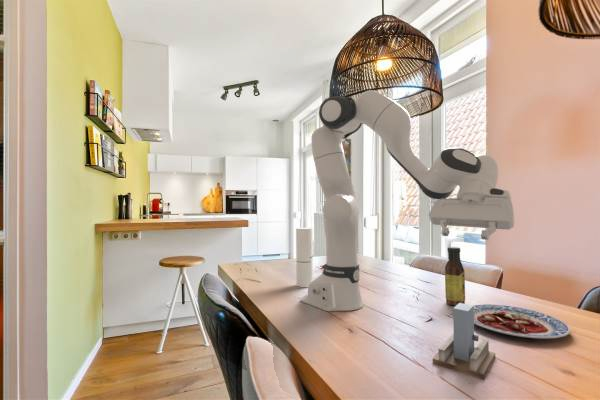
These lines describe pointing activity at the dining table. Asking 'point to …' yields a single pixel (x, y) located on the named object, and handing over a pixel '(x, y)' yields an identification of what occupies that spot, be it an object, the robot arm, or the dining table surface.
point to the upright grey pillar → (464, 331)
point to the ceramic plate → (519, 322)
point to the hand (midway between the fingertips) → (463, 236)
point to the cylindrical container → (304, 256)
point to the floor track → (474, 367)
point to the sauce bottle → (454, 278)
